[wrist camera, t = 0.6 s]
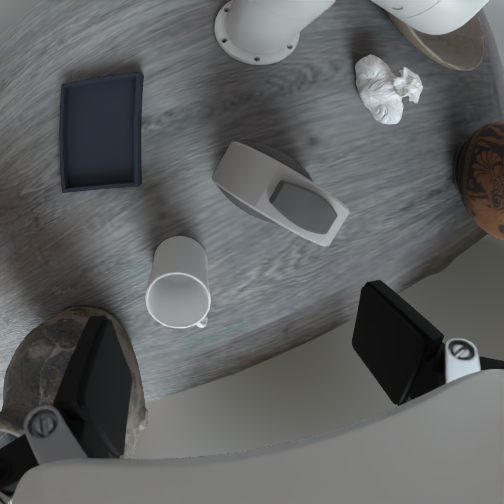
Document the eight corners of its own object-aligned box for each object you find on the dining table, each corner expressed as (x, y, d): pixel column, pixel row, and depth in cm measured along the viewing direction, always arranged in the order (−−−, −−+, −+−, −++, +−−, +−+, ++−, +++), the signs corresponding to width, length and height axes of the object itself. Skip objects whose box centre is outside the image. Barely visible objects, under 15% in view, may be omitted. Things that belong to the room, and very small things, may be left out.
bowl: (445, 97, 42) (481, 98, 33) (340, 26, 34) (373, 8, 25) (455, 13, 33) (485, 7, 24) (364, -55, 26) (390, -74, 17)
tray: (67, 86, 30) (61, 84, 28) (143, 75, 33) (140, 71, 31) (68, 190, 36) (61, 193, 34) (141, 183, 39) (138, 186, 37)
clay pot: (60, 263, 40) (-31, 395, 13) (172, 329, 49) (172, 487, 22) (33, 343, 45) (-17, 457, 17) (124, 393, 53) (113, 515, 26)
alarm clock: (321, 178, 44) (392, 207, 27) (289, 233, 46) (341, 288, 30) (233, 124, 38) (262, 114, 22) (198, 186, 41) (202, 220, 24)
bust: (376, 122, 44) (435, 113, 36) (365, 133, 40) (432, 123, 32) (352, 60, 39) (411, 46, 31) (337, 62, 35) (405, 44, 27)
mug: (222, 289, 48) (232, 334, 37) (176, 307, 48) (175, 354, 37) (194, 227, 43) (195, 259, 32) (144, 248, 43) (130, 285, 32)
